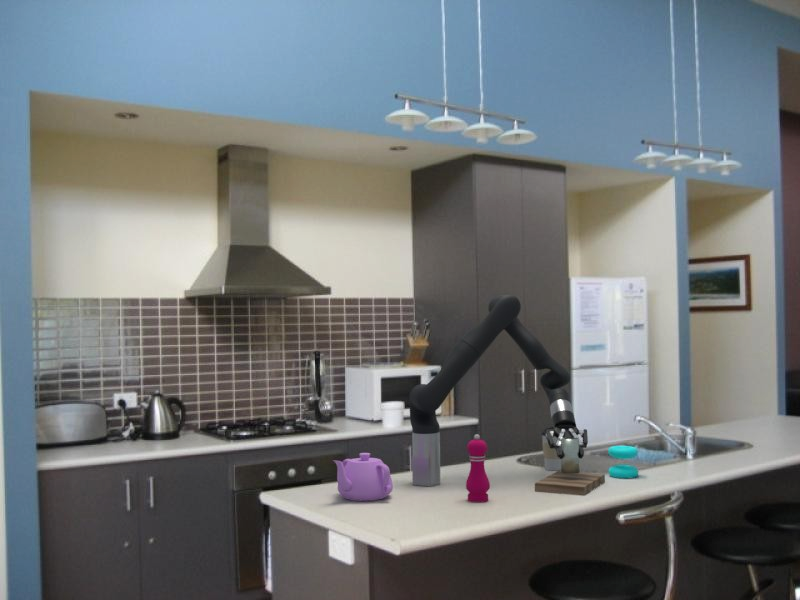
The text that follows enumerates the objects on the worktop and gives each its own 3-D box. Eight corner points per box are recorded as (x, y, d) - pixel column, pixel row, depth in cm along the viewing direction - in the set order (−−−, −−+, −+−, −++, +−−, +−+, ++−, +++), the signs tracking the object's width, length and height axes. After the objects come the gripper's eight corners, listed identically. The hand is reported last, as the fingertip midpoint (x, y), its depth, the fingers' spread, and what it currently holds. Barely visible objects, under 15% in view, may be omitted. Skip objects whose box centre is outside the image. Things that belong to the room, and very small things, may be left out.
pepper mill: (474, 496, 266) (473, 432, 267) (494, 499, 262) (493, 433, 262) (461, 500, 261) (460, 434, 261) (481, 503, 256) (480, 436, 257)
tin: (576, 474, 277) (575, 439, 277) (558, 472, 279) (557, 438, 280) (582, 471, 282) (581, 437, 282) (564, 469, 285) (563, 436, 285)
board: (584, 495, 266) (583, 487, 266) (534, 491, 274) (534, 483, 274) (604, 481, 287) (604, 474, 287) (558, 478, 295) (558, 471, 295)
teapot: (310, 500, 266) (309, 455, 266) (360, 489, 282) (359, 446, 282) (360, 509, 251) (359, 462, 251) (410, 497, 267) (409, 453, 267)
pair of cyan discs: (637, 445, 301) (638, 449, 291) (637, 474, 301) (639, 479, 291) (607, 444, 303) (608, 449, 294) (608, 473, 303) (608, 478, 293)
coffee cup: (567, 471, 308) (566, 429, 308) (541, 471, 309) (540, 429, 310) (567, 467, 317) (566, 426, 317) (542, 466, 318) (541, 426, 319)
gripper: (542, 409, 288) (550, 450, 276) (585, 408, 289) (595, 449, 276) (540, 423, 293) (547, 464, 281) (582, 422, 294) (591, 463, 282)
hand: (571, 457), depth 279 cm, fingers closed on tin, 6 cm apart
